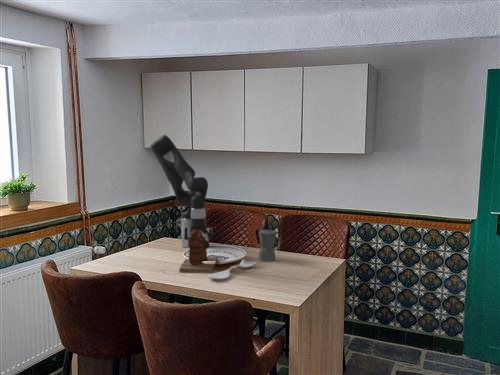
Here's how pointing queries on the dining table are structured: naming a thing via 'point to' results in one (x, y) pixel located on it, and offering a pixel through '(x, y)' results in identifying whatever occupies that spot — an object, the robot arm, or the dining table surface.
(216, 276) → the spoon
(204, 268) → the walnut board
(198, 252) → the wooden figurine
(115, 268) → the dining table surface
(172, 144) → the robot arm
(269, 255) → the coffeepot
